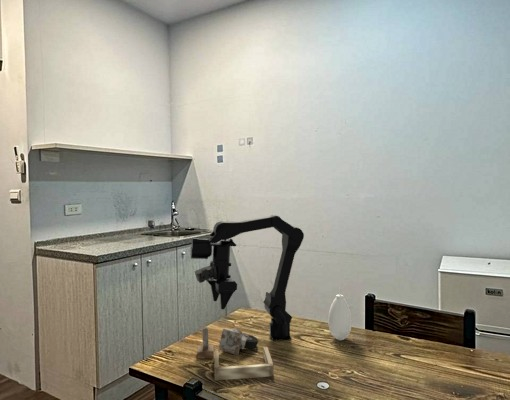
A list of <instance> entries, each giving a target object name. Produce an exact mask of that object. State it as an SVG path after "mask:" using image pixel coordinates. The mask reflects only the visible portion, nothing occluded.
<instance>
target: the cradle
mask: <svg viewBox="0 0 510 400" xmlns="http://www.w3.org/2000/svg"><path fill="white" fill-rule="evenodd" d="M262 351H263V359H264V362H265V363H262V364H261V363H260V364H248V365H247V364H246V365H245V364H244V365H231V366H220V363H219V362H220V360H219V359H220V357H219V349H214V357H213V358H214V381H224V380H225V381H226V380H241V379H250V378H251V379H253V378H265V377H266V378H267V377H274V376H275V372H274V371H275V369H274V367H275V366H274V363H273V360H272V357H271V353H270V351H269V348H268V346H263V350H262Z"/></svg>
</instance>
